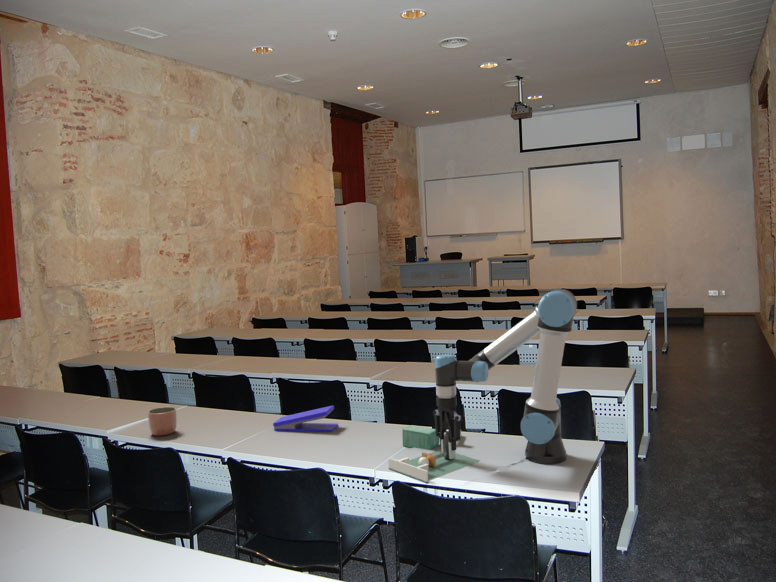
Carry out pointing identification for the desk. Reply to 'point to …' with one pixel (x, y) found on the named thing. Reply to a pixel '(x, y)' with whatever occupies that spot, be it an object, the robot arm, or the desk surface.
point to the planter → (162, 420)
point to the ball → (423, 461)
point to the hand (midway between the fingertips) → (448, 456)
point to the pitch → (426, 471)
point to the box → (420, 437)
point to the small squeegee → (441, 454)
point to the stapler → (297, 421)
